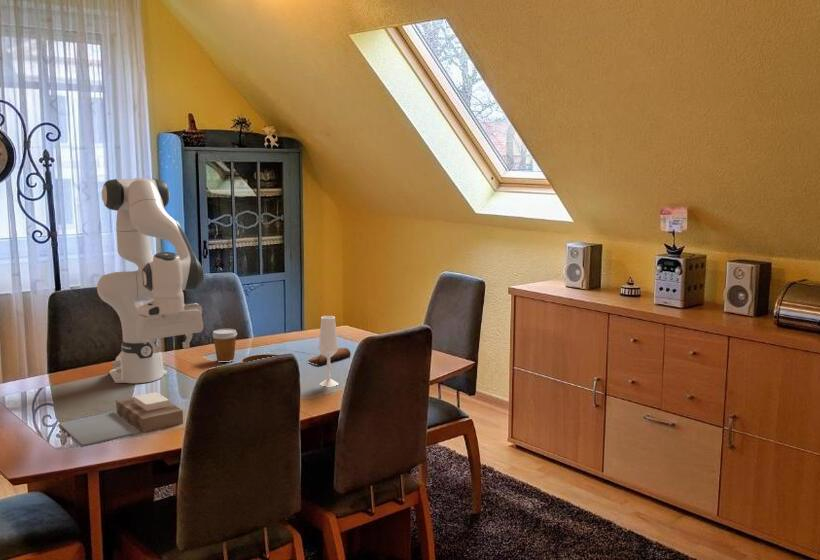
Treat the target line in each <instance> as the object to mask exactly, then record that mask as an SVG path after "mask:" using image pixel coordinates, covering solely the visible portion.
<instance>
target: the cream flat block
mask: <svg viewBox="0 0 820 560" xmlns="http://www.w3.org/2000/svg"><path fill="white" fill-rule="evenodd" d="M133 397H134V403H135V404H137V405H138V406H140V407H141V408H143V409H144V410H146V411H150V410H155V409H159V408H164V407H169V406H170V405H169V402H170V399H168V398H167V397H165V396H163V395H162V394H160V393H158V392H156V391H155V392H151V393H145V394H140V395H134V396H133Z"/></svg>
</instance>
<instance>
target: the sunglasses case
mask: <svg viewBox="0 0 820 560" xmlns="http://www.w3.org/2000/svg"><path fill="white" fill-rule="evenodd" d="M348 356H350V357H351V351H350V349H349V348H346V347H341V348H340V347H338V350H337V352H336V353H335V354H334V355H333V356H332V357H330V362H331V361H332V362H333V361H336V360H339V359H344V358H346V357H348ZM307 361H309V362H311V363H314V364H317V365H319V366H323V365H324V364H327V357H325V356H324V355H323V354H322V353H321V352H320V354H319V355H315V356H313V357H311V358H310V359H308V360H307Z"/></svg>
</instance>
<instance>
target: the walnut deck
mask: <svg viewBox="0 0 820 560" xmlns="http://www.w3.org/2000/svg"><path fill="white" fill-rule="evenodd" d="M134 397H135V396H133V397H127V398H122V399H116V400H115V403H116V404H115V406H116V407H115V408H116V414H117V415H118V416H120V417H121V418H123V417H124V418H123V419H124V420H125V421H127V420H128V421H127V422H128V423H130V422H131V423H130V424H131V425H132V426H133V427H135V428H136V429H138V428H139V429H138V430H139V431H140V432H141V431H142V432H143V433H145V432H146V431H147V432H150V430H151V431H155V430H159V429H158V428H160V429H164V428H167V427H166V426H168V427H171V425H173V426H176V425H175V424H177V425H180V424H179V423H181V424H184V416H183V413H184V412H183V409H181V408H179V407H178V406H176V405H174V404H173V403H171V402H170V401H169V405H170V406H169V407H164V408H159V409H155V410H150V411H146V410H144V409H143V408H141V407H140V406H138V405H137V404H135V403H134ZM163 427H164V428H163ZM154 429H155V430H154ZM147 432H146V433H147Z"/></svg>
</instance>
